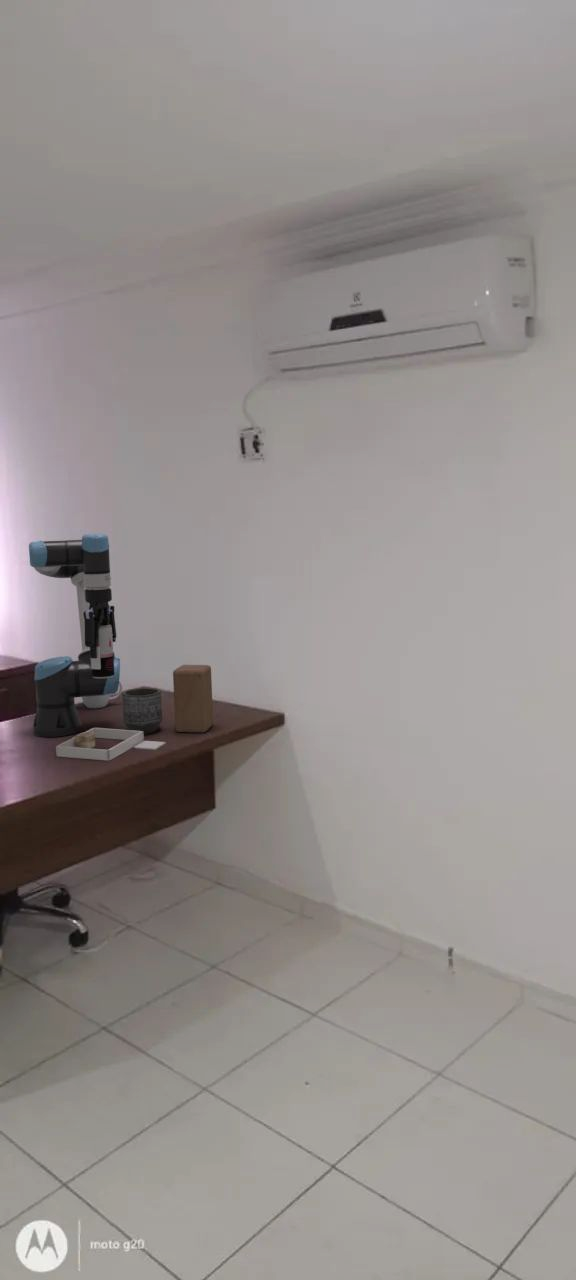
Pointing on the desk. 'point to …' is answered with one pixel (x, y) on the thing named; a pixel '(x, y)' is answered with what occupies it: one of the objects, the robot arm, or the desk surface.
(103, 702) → the mug
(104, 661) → the beverage can
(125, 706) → the planter
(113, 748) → the bin
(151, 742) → the pad
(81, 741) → the beech block
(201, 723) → the wooden block
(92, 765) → the desk surface
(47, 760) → the desk surface
